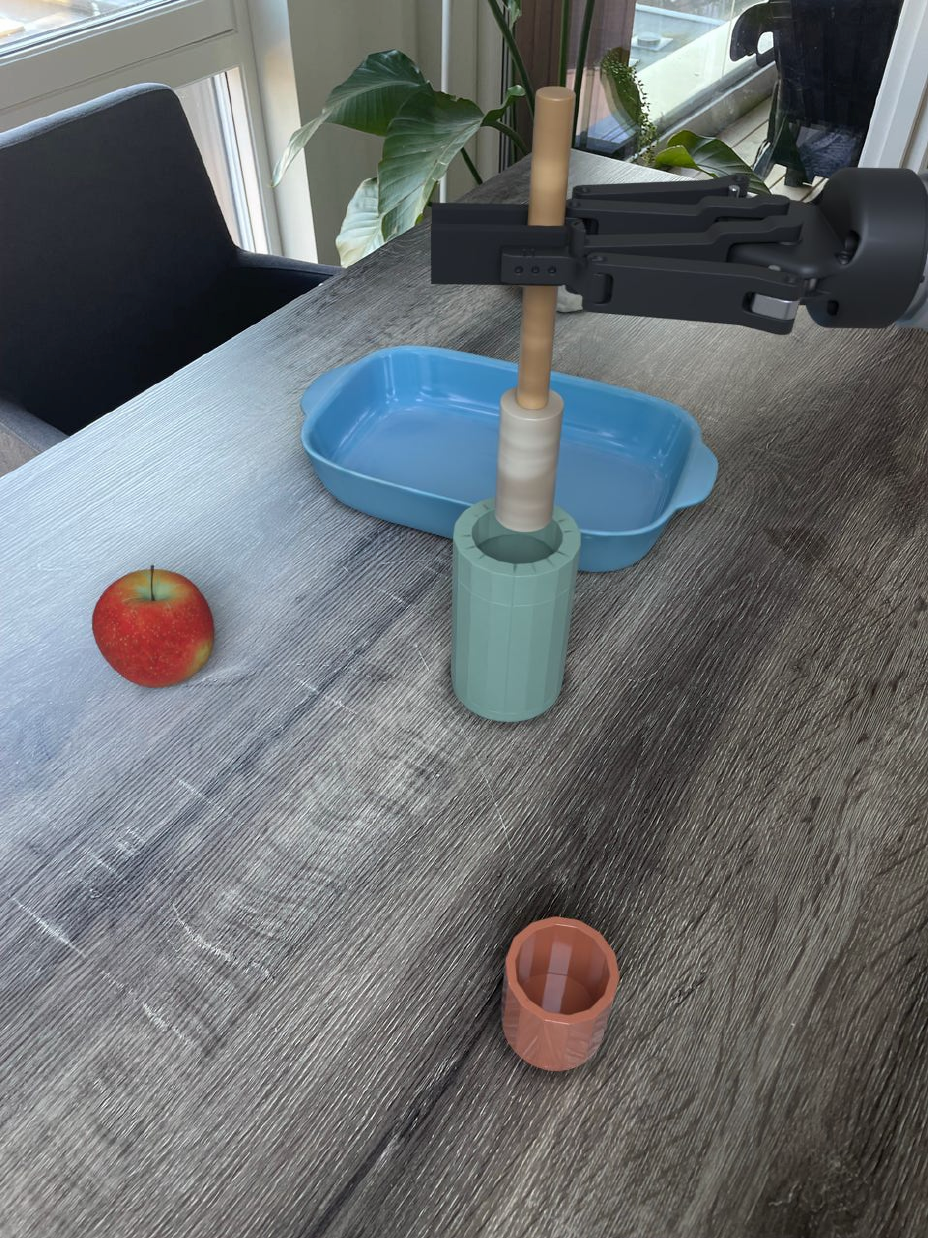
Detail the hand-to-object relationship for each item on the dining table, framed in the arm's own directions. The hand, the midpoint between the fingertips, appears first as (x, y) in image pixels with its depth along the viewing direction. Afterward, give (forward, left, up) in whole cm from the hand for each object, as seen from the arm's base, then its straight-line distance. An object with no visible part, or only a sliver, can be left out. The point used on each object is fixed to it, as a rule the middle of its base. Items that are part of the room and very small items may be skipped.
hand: (432, 243), depth 50 cm
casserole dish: (+23, +9, -34) cm, 42 cm away
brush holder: (-16, -20, -34) cm, 42 cm away
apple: (-10, +17, -34) cm, 39 cm away
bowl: (+58, +23, -34) cm, 71 cm away
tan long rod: (+3, -5, -17) cm, 18 cm away
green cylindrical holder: (+4, -4, -34) cm, 34 cm away
